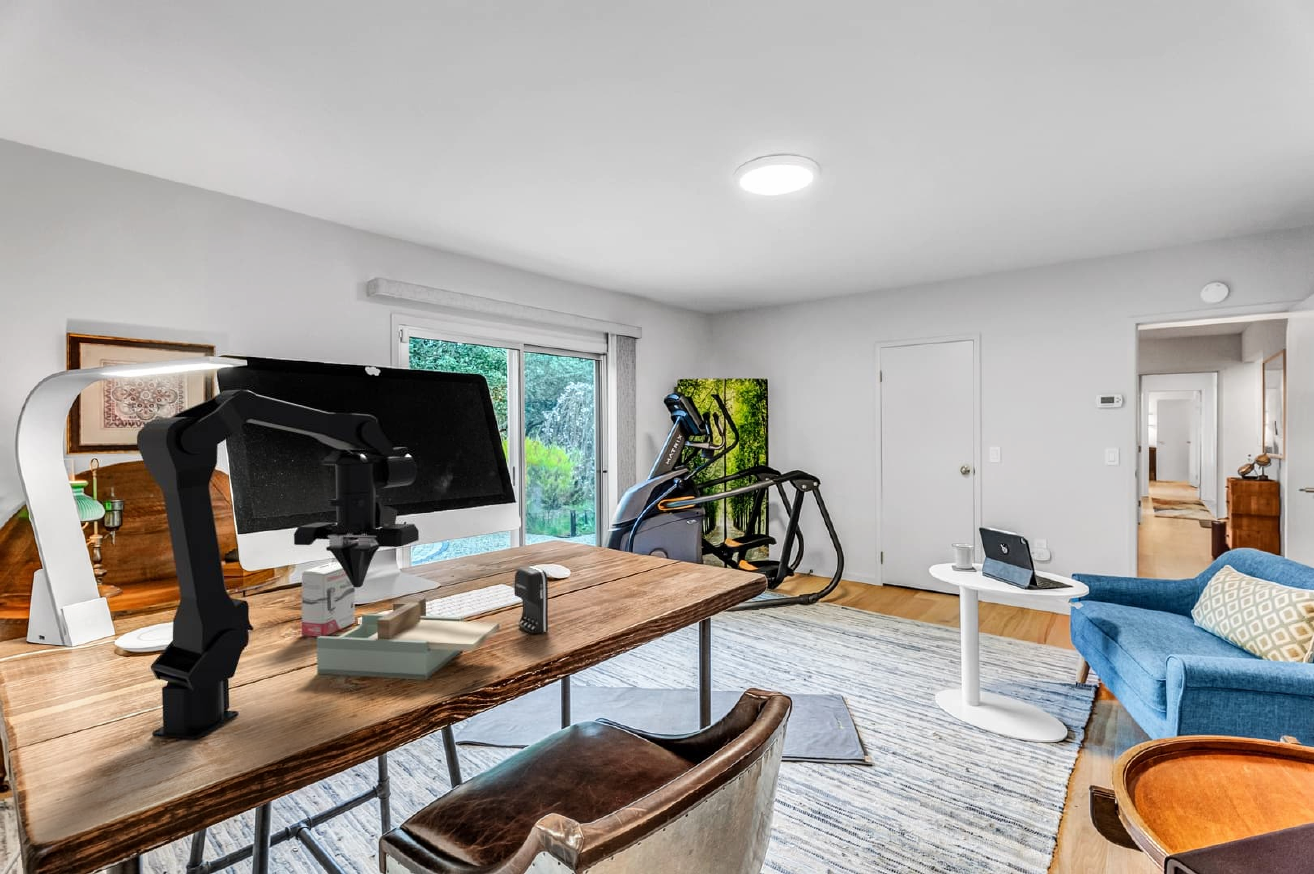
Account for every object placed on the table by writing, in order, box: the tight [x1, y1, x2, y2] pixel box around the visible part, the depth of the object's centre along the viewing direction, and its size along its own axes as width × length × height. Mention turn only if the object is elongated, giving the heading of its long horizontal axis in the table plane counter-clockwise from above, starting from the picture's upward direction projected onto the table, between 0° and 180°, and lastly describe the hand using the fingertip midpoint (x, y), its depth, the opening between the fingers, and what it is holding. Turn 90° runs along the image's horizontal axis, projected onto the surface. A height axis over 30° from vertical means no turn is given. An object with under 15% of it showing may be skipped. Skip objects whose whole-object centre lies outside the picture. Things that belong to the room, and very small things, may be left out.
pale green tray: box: [316, 613, 463, 681], centre depth 99 cm, size 12×18×6 cm, turn 82°
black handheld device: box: [513, 566, 549, 635], centre depth 113 cm, size 7×4×11 cm, turn 41°
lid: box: [369, 603, 500, 652], centre depth 98 cm, size 10×18×4 cm, turn 81°
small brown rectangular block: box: [392, 596, 427, 616], centre depth 109 cm, size 4×4×7 cm
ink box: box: [301, 561, 356, 638], centre depth 115 cm, size 9×5×12 cm, turn 168°
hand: (358, 586), depth 100 cm, fingers closed
